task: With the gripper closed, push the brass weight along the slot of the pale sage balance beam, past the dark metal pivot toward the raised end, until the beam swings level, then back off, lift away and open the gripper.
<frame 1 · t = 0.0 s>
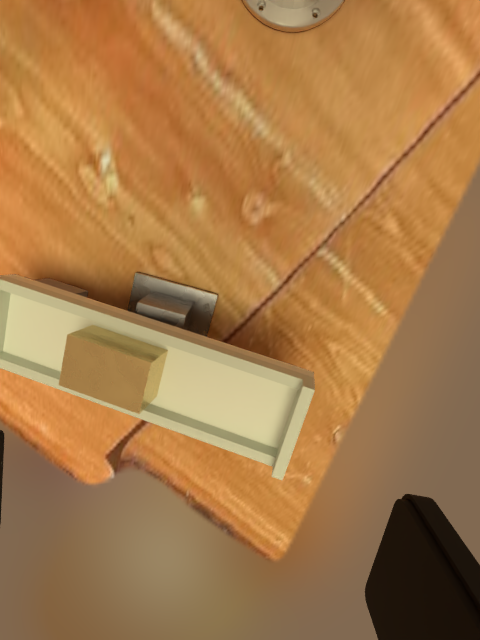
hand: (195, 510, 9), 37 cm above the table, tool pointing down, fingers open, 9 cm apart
brass weight: (124, 360, 37), point 10 cm above the table, tilted 10°, touching balance beam
balance beam: (146, 362, 38), point 9 cm above the table, hinge at -10.2°, touching brass weight
pivot stand: (165, 336, 47), on the table
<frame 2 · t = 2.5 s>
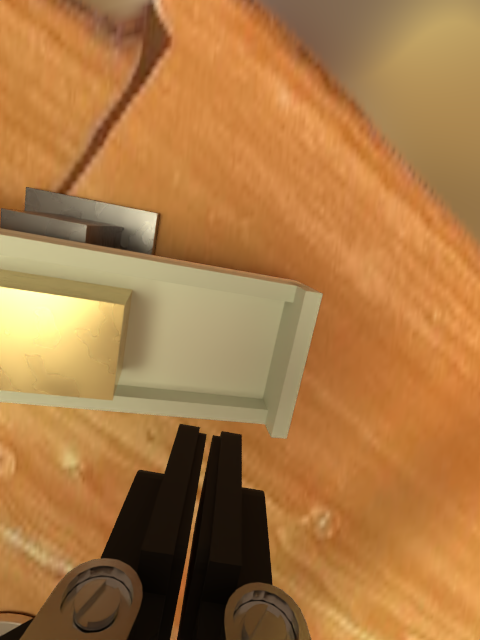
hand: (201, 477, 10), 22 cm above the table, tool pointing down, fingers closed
brass weight: (54, 321, 21), point 10 cm above the table, tilted 10°, touching balance beam
balance beam: (27, 311, 22), point 9 cm above the table, hinge at -10.2°, touching brass weight
pivot stand: (88, 287, 31), on the table
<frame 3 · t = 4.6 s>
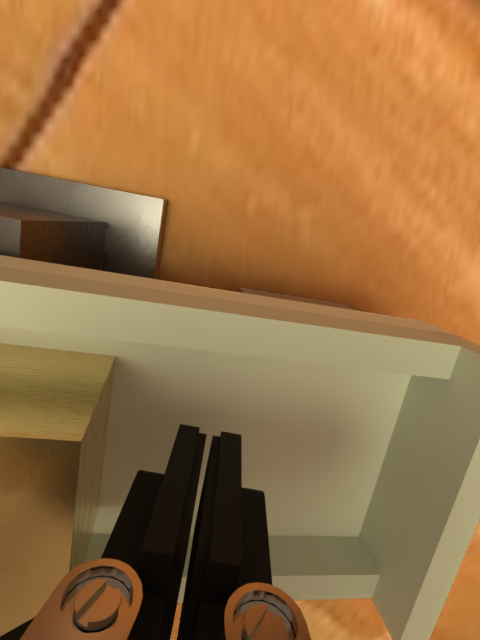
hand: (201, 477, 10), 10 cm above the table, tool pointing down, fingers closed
pivot stand: (55, 318, 20), on the table
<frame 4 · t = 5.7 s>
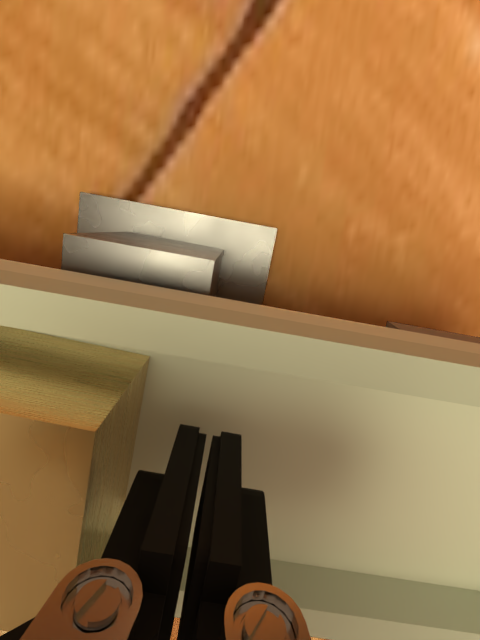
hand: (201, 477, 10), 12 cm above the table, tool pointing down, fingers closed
brass weight: (1, 407, 11), point 11 cm above the table, touching gripper
balance beam: (111, 415, 12), point 9 cm above the table, hinge at 0.2°
pivot stand: (165, 336, 21), on the table
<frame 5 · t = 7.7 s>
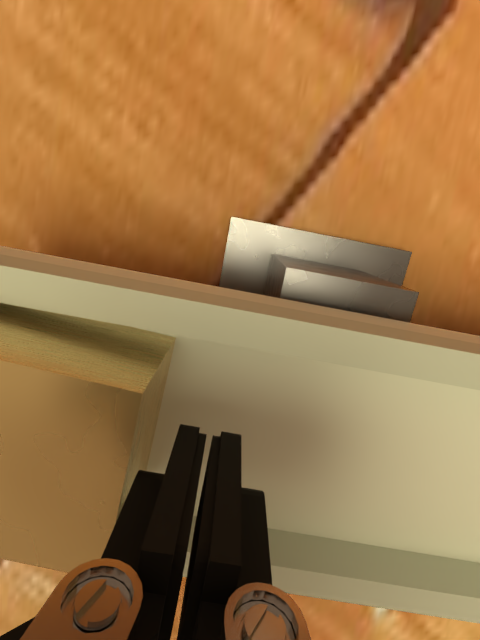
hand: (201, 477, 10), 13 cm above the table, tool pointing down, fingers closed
brass weight: (38, 380, 12), point 10 cm above the table, touching balance beam, gripper
balance beam: (324, 430, 14), point 9 cm above the table, hinge at 0.2°, touching brass weight
pivot stand: (291, 349, 23), on the table
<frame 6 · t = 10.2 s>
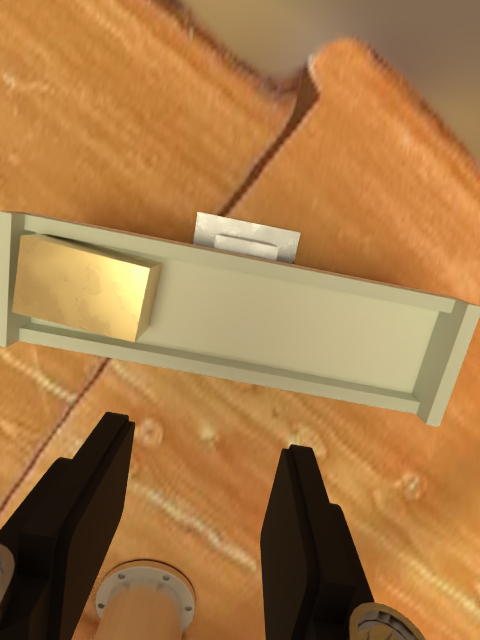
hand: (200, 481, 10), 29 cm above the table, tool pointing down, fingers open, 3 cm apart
brass weight: (102, 281, 27), point 10 cm above the table, touching balance beam
balance beam: (234, 312, 29), point 9 cm above the table, hinge at 0.2°, touching brass weight
pivot stand: (235, 291, 38), on the table
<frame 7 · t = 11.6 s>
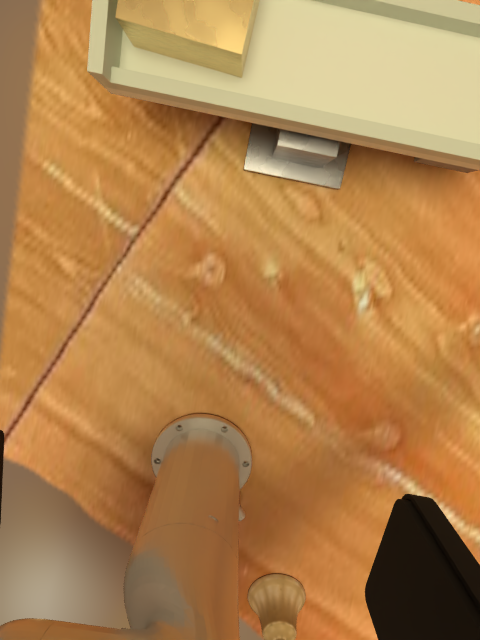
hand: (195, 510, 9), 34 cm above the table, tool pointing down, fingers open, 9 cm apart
brass weight: (196, 23, 26), point 10 cm above the table, touching balance beam
balance beam: (327, 70, 28), point 9 cm above the table, hinge at 0.2°, touching brass weight
pivot stand: (306, 106, 37), on the table
hand bell: (276, 594, 54), on the table
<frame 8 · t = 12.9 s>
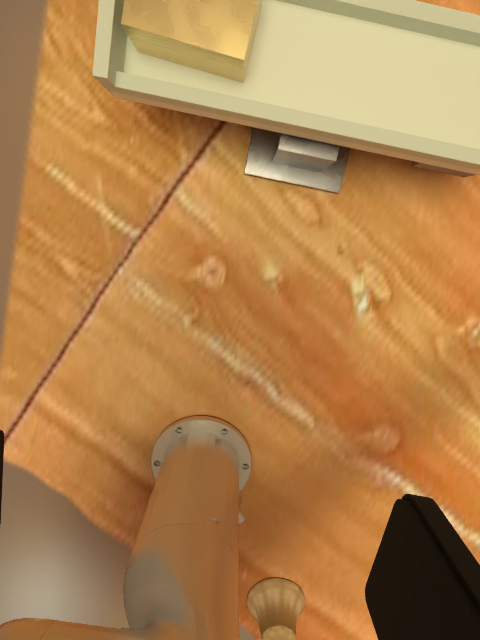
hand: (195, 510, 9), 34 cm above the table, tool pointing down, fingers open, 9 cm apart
brass weight: (199, 29, 27), point 10 cm above the table, touching balance beam
balance beam: (326, 76, 29), point 9 cm above the table, hinge at 0.2°, touching brass weight
pivot stand: (306, 112, 38), on the table
hand bell: (275, 598, 53), on the table
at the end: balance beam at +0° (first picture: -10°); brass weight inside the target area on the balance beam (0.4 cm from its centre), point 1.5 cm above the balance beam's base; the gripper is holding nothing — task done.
